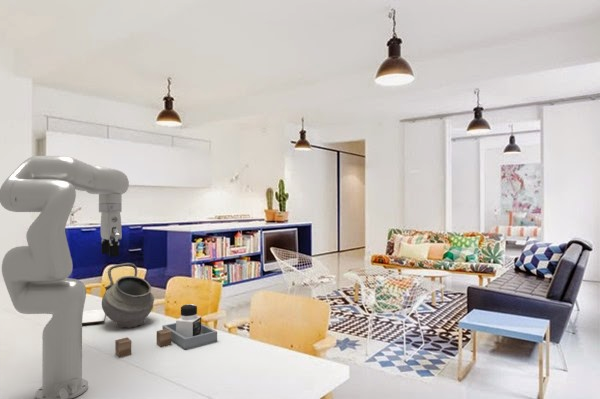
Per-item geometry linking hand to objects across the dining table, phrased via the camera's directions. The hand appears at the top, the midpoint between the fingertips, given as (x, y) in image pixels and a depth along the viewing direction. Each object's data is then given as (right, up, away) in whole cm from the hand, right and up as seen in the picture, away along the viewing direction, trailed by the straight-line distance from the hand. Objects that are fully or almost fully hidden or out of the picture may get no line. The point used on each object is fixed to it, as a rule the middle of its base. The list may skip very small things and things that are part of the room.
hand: (110, 255), depth 146 cm
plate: (-27, -33, +30) cm, 52 cm away
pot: (-4, -33, +26) cm, 42 cm away
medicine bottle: (+26, -33, +9) cm, 43 cm away
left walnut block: (+8, -33, -7) cm, 35 cm away
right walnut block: (+19, -33, +2) cm, 38 cm away
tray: (+26, -33, +9) cm, 43 cm away
